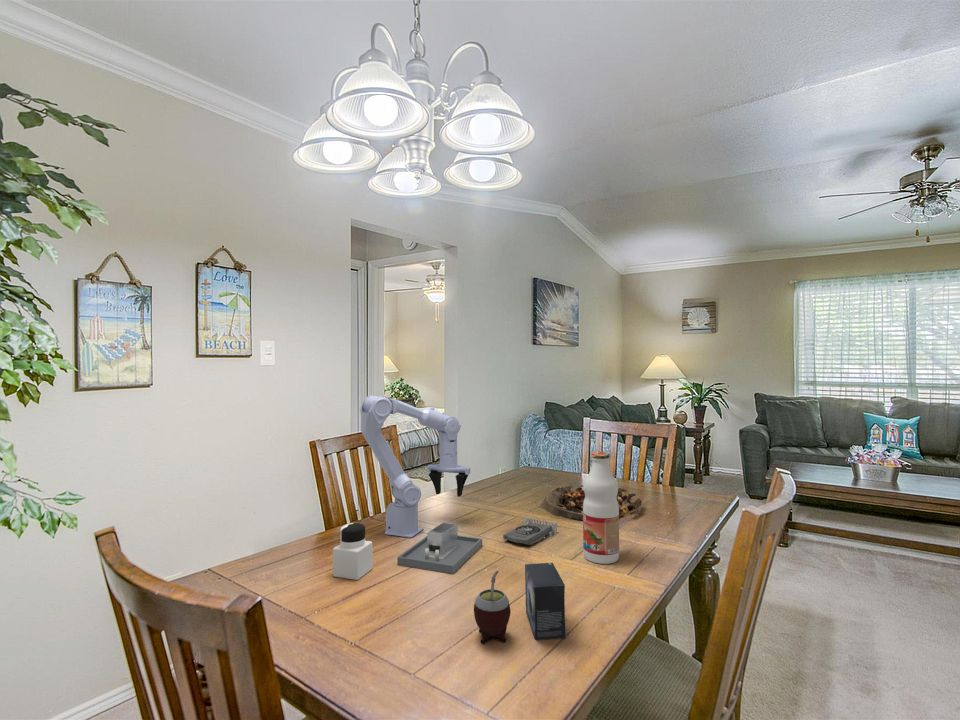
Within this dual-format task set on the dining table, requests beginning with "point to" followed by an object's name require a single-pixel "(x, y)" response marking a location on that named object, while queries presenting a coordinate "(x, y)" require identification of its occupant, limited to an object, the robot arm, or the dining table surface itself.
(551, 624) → the small box
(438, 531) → the block
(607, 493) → the fruit juice
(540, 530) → the graphics card
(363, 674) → the dining table surface
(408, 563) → the tray
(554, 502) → the food dish
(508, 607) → the mate gourd
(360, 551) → the medicine bottle
